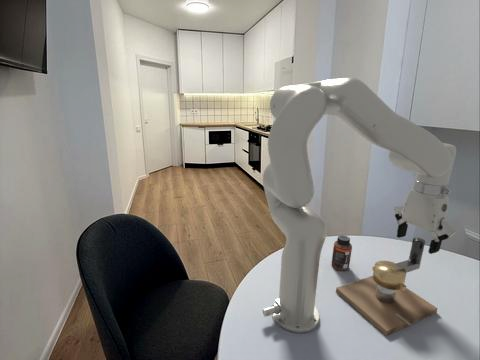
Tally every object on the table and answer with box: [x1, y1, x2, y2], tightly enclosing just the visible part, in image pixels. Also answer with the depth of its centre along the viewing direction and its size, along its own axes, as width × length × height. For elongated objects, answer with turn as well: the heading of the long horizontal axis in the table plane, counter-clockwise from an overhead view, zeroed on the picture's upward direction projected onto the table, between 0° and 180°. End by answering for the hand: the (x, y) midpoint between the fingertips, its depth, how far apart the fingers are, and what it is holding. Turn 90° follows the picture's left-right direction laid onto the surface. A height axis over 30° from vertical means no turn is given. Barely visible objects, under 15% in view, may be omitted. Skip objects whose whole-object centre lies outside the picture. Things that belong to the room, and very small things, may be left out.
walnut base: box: [335, 275, 438, 337], centre depth 82 cm, size 20×19×2 cm
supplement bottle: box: [331, 234, 353, 271], centre depth 98 cm, size 6×6×11 cm
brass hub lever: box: [372, 237, 426, 291], centre depth 80 cm, size 16×10×11 cm, turn 113°
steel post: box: [375, 284, 396, 304], centre depth 81 cm, size 5×5×6 cm
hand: (416, 244), depth 81 cm, fingers open, 9 cm apart
